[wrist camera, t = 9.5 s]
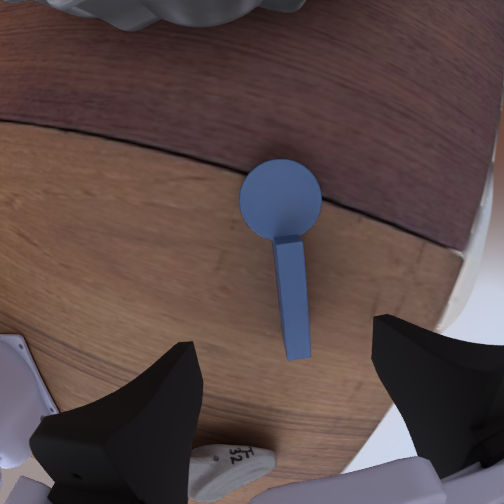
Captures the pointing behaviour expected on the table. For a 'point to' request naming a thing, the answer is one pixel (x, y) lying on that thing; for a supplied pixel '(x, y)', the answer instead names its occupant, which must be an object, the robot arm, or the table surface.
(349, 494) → the robot arm
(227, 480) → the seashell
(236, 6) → the bundt pan
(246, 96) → the table surface
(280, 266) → the blue spoon
